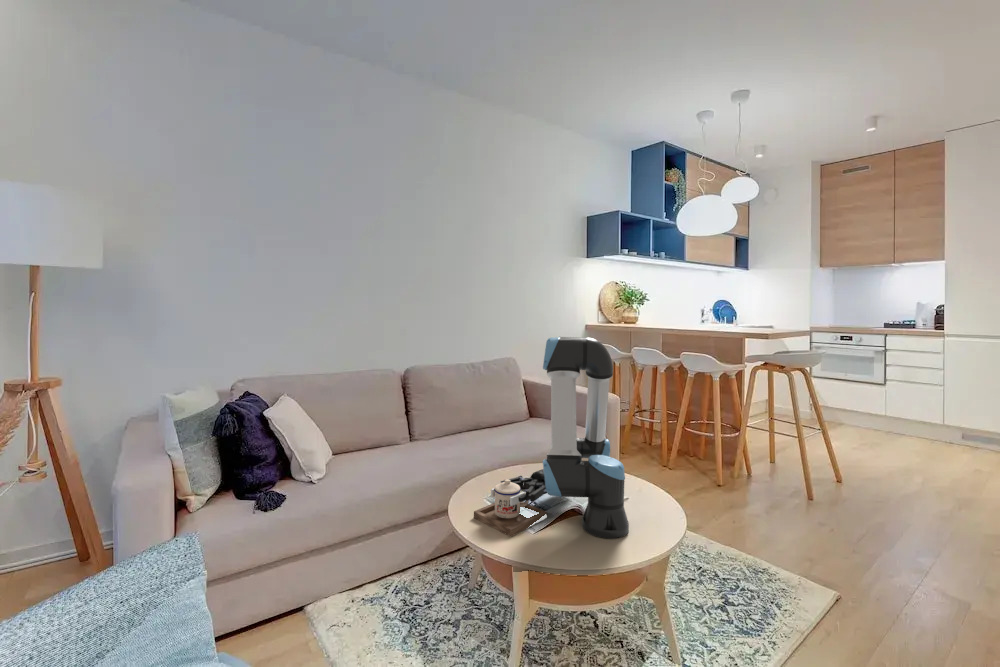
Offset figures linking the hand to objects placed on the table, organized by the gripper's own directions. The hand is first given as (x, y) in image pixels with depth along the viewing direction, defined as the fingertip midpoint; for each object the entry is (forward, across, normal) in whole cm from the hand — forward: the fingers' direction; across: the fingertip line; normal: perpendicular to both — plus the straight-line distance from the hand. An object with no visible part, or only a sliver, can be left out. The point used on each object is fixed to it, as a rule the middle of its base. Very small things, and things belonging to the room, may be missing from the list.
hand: (501, 497), depth 158 cm
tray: (-5, 0, -9) cm, 10 cm away
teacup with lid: (-4, -1, -7) cm, 8 cm away
